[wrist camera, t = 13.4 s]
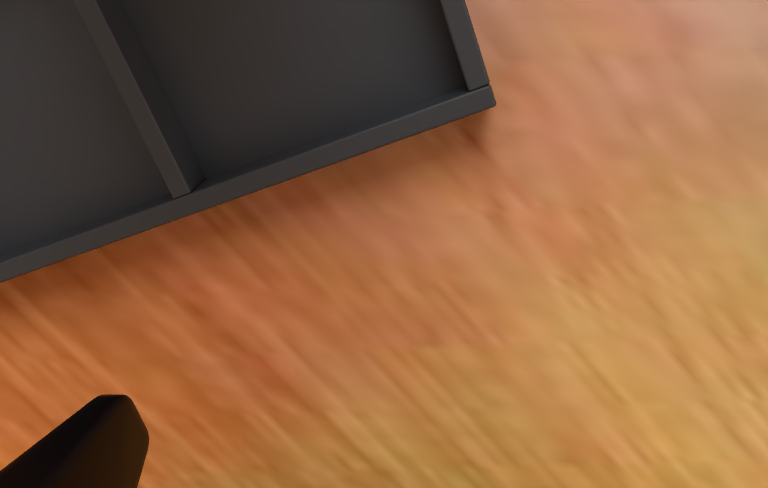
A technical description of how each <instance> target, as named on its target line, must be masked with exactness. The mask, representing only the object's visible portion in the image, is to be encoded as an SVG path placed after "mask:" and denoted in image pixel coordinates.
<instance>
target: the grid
mask: <svg viewBox="0 0 768 488" xmlns="http://www.w3.org/2000/svg"><path fill="white" fill-rule="evenodd" d="M489 82H490V81H489V78H488V75H487V71H486V68H485V65H484V62H483V58H482V55H481V52H480V49H479V45H478V42H477V39H476V36H475V32H474V29H473V26H472V23H471V19H470V16H469V13H468V10H467V6H466V3H465V0H0V282H3V281H6V280H9V279H12V278H14V277H17V276H20V275H23V274H26V273H28V272H31V271H34V270H37V269H40V268H42V267H45V266H48V265H51V264H54V263H57V262H59V261H62V260H65V259H68V258H71V257H73V256H76V255H79V254H82V253H85V252H87V251H90V250H93V249H96V248H99V247H101V246H104V245H107V244H110V243H113V242H116V241H118V240H121V239H124V238H127V237H130V236H132V235H135V234H138V233H141V232H144V231H146V230H149V229H152V228H155V227H158V226H160V225H163V224H166V223H169V222H172V221H174V220H177V219H180V218H183V217H186V216H189V215H191V214H194V213H197V212H200V211H203V210H205V209H208V208H211V207H214V206H217V205H219V204H222V203H225V202H228V201H231V200H233V199H236V198H239V197H242V196H245V195H248V194H250V193H253V192H256V191H259V190H262V189H264V188H267V187H270V186H273V185H276V184H278V183H281V182H284V181H287V180H290V179H292V178H295V177H298V176H301V175H304V174H307V173H309V172H312V171H315V170H318V169H321V168H323V167H326V166H329V165H332V164H335V163H337V162H340V161H343V160H346V159H349V158H351V157H354V156H357V155H360V154H363V153H365V152H368V151H371V150H374V149H377V148H380V147H382V146H385V145H388V144H391V143H394V142H396V141H399V140H402V139H405V138H408V137H410V136H413V135H416V134H419V133H422V132H424V131H427V130H430V129H433V128H436V127H439V126H441V125H444V124H447V123H450V122H453V121H455V120H458V119H461V118H464V117H467V116H469V115H472V114H475V113H478V112H481V111H483V110H486V109H489V108H492V107H494V106H496V101H495V98H494V94H493V91H492V88H491V86H490V84H489Z"/></svg>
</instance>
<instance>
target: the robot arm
mask: <svg viewBox="0 0 768 488" xmlns="http://www.w3.org/2000/svg"><path fill="white" fill-rule="evenodd" d="M148 446H149V435H148V431H147V428H146V426H145V424H144V422H143V420H142V419H141V417H140V415H139V413H138V411H137V409H136V407H135V405H134V403H133V401H132V400H131V398H129V397H128V396H127V395H100V396H98V397H96V398H94V399H93V400H92V401H90V402H89V403H88V404H86V405H85V406H84V407H83V408H81V409H80V410H79V411H77V412H76V413H75V414H73V415H72V416H71V417H70V418H68V419H67V420H66V421H64V422H63V423H62V424H61V425H59V426H58V427H57V428H55V429H54V430H53V431H51V432H50V433H49V434H48V435H46V436H45V437H44V438H42V439H41V440H40V441H38V442H37V443H36V444H35V445H33V446H32V447H31V448H29V449H28V450H27V451H25V452H24V453H23V454H22V455H20V456H19V457H18V458H16V459H15V460H14V461H13V462H11V463H10V464H9V465H7V466H6V467H5V468H3V469H2V470H1V471H0V488H137V486H138V483H139V479H140V476H141V472H142V468H143V465H144V461H145V458H146V454H147V451H148Z"/></svg>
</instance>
